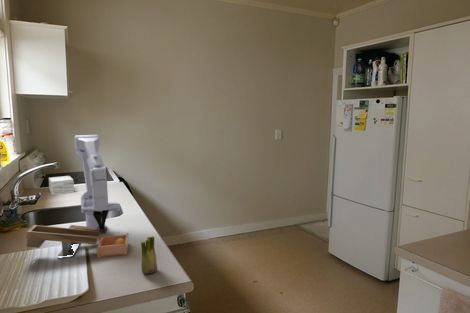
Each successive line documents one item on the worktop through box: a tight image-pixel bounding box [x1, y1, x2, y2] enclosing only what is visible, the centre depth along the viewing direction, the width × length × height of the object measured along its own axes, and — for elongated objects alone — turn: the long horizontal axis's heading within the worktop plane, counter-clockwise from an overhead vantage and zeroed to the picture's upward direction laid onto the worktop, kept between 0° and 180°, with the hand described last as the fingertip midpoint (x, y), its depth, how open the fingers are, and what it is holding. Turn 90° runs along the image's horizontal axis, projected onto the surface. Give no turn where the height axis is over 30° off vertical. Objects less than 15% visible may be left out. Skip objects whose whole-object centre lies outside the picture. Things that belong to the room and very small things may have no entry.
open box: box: [96, 232, 130, 259], centre depth 124 cm, size 11×10×4 cm
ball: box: [115, 238, 125, 245], centre depth 124 cm, size 4×4×4 cm
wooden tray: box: [25, 224, 108, 249], centre depth 123 cm, size 16×25×6 cm, turn 104°
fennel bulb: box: [140, 235, 158, 275], centre depth 106 cm, size 6×5×12 cm
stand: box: [57, 242, 82, 257], centre depth 124 cm, size 15×5×6 cm, turn 14°
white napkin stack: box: [48, 175, 75, 196], centre depth 217 cm, size 17×13×9 cm
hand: (102, 228), depth 131 cm, fingers closed
